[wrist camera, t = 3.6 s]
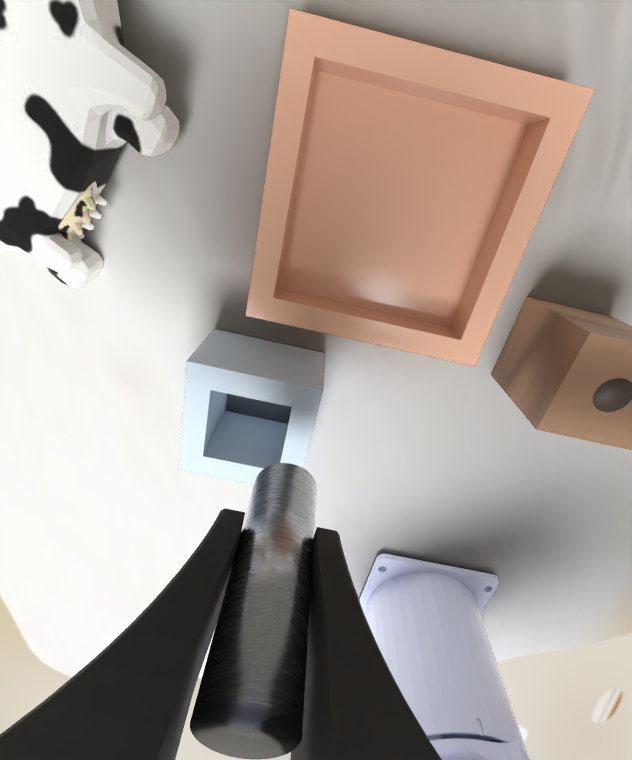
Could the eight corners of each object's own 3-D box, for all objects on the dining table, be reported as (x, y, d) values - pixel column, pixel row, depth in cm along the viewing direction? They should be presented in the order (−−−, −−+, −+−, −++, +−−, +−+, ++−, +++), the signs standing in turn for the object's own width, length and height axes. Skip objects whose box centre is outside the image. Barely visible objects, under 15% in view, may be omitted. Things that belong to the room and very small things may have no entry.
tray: (460, 347, 19) (474, 366, 17) (255, 302, 19) (245, 315, 17) (559, 102, 15) (594, 89, 13) (295, 33, 14) (289, 8, 12)
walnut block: (566, 391, 20) (633, 450, 15) (490, 374, 20) (536, 429, 15) (608, 315, 18) (699, 358, 14) (526, 296, 18) (590, 332, 13)
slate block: (302, 443, 22) (296, 493, 18) (204, 423, 22) (177, 470, 18) (325, 353, 19) (322, 390, 16) (214, 328, 19) (186, 361, 16)
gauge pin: (308, 517, 15) (290, 766, 8) (250, 504, 14) (185, 749, 8) (322, 470, 14) (313, 712, 7) (260, 457, 13) (195, 692, 7)
